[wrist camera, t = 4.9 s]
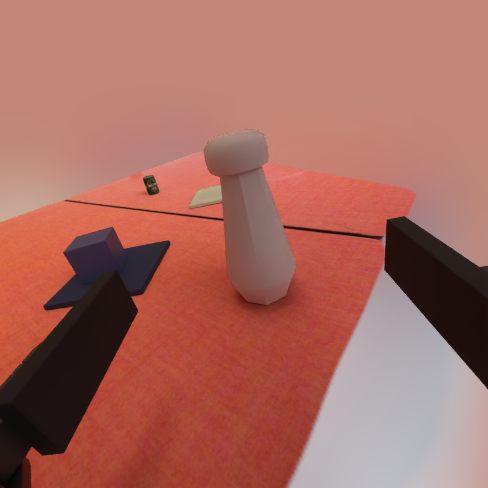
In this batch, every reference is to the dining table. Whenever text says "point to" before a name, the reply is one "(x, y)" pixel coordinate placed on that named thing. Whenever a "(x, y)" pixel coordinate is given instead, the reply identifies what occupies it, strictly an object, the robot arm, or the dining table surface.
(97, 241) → the navy block
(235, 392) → the dining table surface
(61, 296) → the dark mat
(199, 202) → the light mat
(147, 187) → the beer can
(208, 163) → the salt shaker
